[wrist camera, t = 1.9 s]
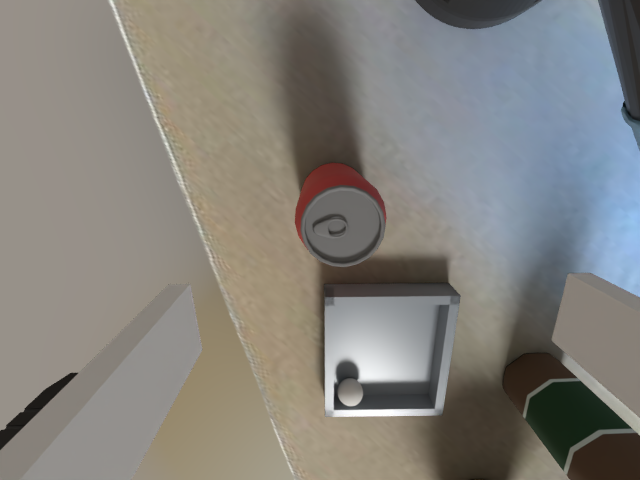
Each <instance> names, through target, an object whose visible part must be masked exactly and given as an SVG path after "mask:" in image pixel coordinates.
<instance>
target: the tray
mask: <svg viewBox="0 0 640 480" xmlns="http://www.w3.org/2000/svg"><path fill="white" fill-rule="evenodd" d="M459 303H460V295H459V294H458V293H457V292H456V290H455V289H454V288H453V287H452V286H451V285H450V284H449V283H393V284H324V384H325V417H347V416H425V415H442V413H443V407H444V400H445V394H446V387H447V381H448V374H449V368H450V361H451V355H452V348H453V342H454V335H455V329H456V322H457V316H458V309H459ZM347 378H353V379H355V380H357V381H358V382H359V383H360V384H361V386H362V389H363V397H362V399H361V401H360V402H359V403H358V404H357V405H355V406H347V405H345V404H343V403H342V402H341V401H340V399H339V397H338V386H339V384H340V383H341V382H342V381H343V380H344V379H347Z"/></svg>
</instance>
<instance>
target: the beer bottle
mask: <svg viewBox="0 0 640 480" xmlns="http://www.w3.org/2000/svg"><path fill="white" fill-rule="evenodd" d="M503 389H504V390H505V392H506V393H507V395H508V396H509V398H510V399H511V401H512V402H513V403H514V405H515V406H516V407H517V409H518V410H519V411H520V413H521V414H522V416H523V417H524V418H525V420H526V421H527V422H528V424H529V425H530V426H531V428H532V429H533V430H534V432H535V433H536V434H537V436H538V437H539V439H540V440H541V441H542V443H543V444H544V445H545V447H546V448H547V449H548V451H549V452H550V453H551V455H552V456H553V458H554V459H555V460H556V462H557V463H558V464H559V466H560V467H561V468H562V470H563V471H564V472H565V474H566V475H567V476H568V478H569V479H570V480H640V436H639V435H638V434H637V433H636V432H635V431H634V430H633V429H632V428H631V427H630V426H629V425H628V424H627V423H626V422H625V421H623V420H622V419H621V418H620V417H619V416H618V415H617V414H616V413H615V412H614V411H613V410H612V409H610V408H609V407H608V406H607V405H606V404H605V403H604V402H603V401H602V400H601V399H600V398H599V397H597V396H596V395H595V394H594V393H593V392H592V391H591V390H590V389H589V388H588V387H587V386H586V385H584V384H583V383H582V382H581V381H580V380H579V379H578V378H577V377H576V376H575V375H574V374H573V373H571V372H570V371H569V370H568V369H567V368H566V367H565V366H564V365H563V364H562V363H561V362H559V361H558V360H557V359H556V358H555V357H553V356H552V355H551V354H549V353H531V354H523V355H522V356H521V357H519V358H518V359H517V360H515V361H514V362H513V363H511V364H510V365H509V366H507V367H506V370H505V376H504V381H503Z"/></svg>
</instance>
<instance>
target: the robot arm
mask: <svg viewBox="0 0 640 480" xmlns="http://www.w3.org/2000/svg"><path fill="white" fill-rule="evenodd" d="M540 1H541V0H416V2H417V3H418V4H419V5H420V6H421V7H422V8H423V9H424V10H425V11H426V12H428V13H429V14H430V15H431V16H433V17H434V18H436V19H438V20H440V21H441V22H444V23H446V24H448V25H451V26H455V27H459V28H466V29H480V28H487V27H492V26H495V25H499V24H501V23H504V22H506V21H509V20H511V19H513V18H514V17H516V16H518V15H520V14H521V13H523V12H525V11H526V10H528V9H529V8H531V7H533V6H534V5H536V4H537V3H539V2H540ZM598 2H599V6H600V9H601V13H602V17H603V20H604V24H605V28H606V31H607V35H608V39H609V42H610V46H611V50H612V53H613V57H614V61H615V64H616V68H617V72H618V75H619V79H620V83H621V87H622V91H623V95H624V99H625V101H624V102H623V107H622V109H621V112H622V116H623V118H624V120H625V122H626V123H627V124H628V125H629V126H631V128H632V130H633V133H634V136H635V139H636V142H637V145H638V148H639V150H640V0H598ZM551 341H553V342H554V343H555V344H556V345H557V346H558V347H559V348H561V349H562V350H563V351H564V352H565V353H566V354H567V355H569V356H570V357H571V358H572V359H573V360H574V361H575V362H577V363H578V364H579V365H580V366H581V367H582V368H583V369H585V370H586V371H587V372H588V373H589V374H590V375H591V376H593V377H594V378H595V379H596V380H597V381H598V382H599V383H601V384H602V385H603V386H604V387H605V388H606V389H607V390H608V391H610V392H611V393H612V394H613V395H614V396H615V397H616V398H618V399H619V400H620V401H621V402H622V403H623V404H624V405H626V406H627V407H628V408H629V409H630V410H631V411H632V412H634V413H635V414H636V415H637V416H638V417H639V418H640V297H638V296H636V295H634V294H632V293H630V292H628V291H626V290H624V289H622V288H620V287H618V286H616V285H614V284H612V283H610V282H608V281H606V280H604V279H602V278H600V277H598V276H596V275H594V274H592V273H568V276H567V280H566V284H565V288H564V292H563V296H562V300H561V304H560V308H559V312H558V316H557V320H556V324H555V328H554V332H553V336H552V340H551ZM201 351H202V346H201V340H200V335H199V329H198V324H197V318H196V312H195V307H194V302H193V296H192V290H191V285H190V284H170V285H168V286H166V287H165V289H163V290H162V291H161V292H160V293H159V294H158V295H157V296H156V297H155V298H154V299H153V300H152V301H151V302H150V303H149V304H148V305H147V306H146V307H145V308H144V309H143V310H142V311H141V312H140V313H139V314H138V315H137V316H136V317H135V318H134V319H133V320H132V321H131V322H130V323H129V324H128V325H127V326H126V327H125V328H124V329H123V330H122V331H121V332H120V333H119V334H118V335H117V336H116V337H115V338H114V339H113V340H112V341H111V342H110V343H109V344H108V345H107V346H106V347H105V348H104V349H102V351H101V352H100V353H98V354H97V356H95V357H94V359H92V360H91V361H90V362H89V363H88V364H87V365H86V366H85V367H84V368H83V369H82V370H81V371H80V372H79V373H70V374H68V375H67V376H65V377H64V378H62V379H61V380H59V381H58V382H56V383H54V384H53V385H51V386H50V387H48V388H46V389H45V390H44V391H43V392H42V393H41V394H40V395H39V396H38V397H37V398H35V400H33V401H32V402H31V403H30V404H29V405H28V406H27V407H26V408H25V410H24V412H21V413H19V414H18V415H17V416H16V417H15V418H14V419H13V420H12V421H11V422H10V423H8V424H7V425H6V426H7V427H6V429H5V430H1V431H0V480H131V479H132V478H133V476H134V474H135V472H136V470H137V469H138V466H139V465H140V463H141V461H142V459H143V458H144V456H145V454H146V452H147V450H148V448H149V446H150V445H151V443H152V441H153V439H154V437H155V435H156V434H157V432H158V430H159V428H160V426H161V424H162V423H163V421H164V419H165V417H166V415H167V413H168V412H169V410H170V408H171V406H172V404H173V403H174V401H175V399H176V397H177V395H178V393H179V391H180V389H181V388H182V386H183V384H184V382H185V381H186V379H187V377H188V375H189V373H190V371H191V370H192V368H193V366H194V364H195V362H196V360H197V358H198V357H199V355H200V353H201Z"/></svg>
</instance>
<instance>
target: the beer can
mask: <svg viewBox="0 0 640 480" xmlns="http://www.w3.org/2000/svg"><path fill="white" fill-rule="evenodd" d="M295 225H296V228H297V232H298V236H299V238H300V239H301V241H302V242H303V244H304V245H305V247H306V248H307V250H309V252H310V253H311V254H312V255H313V256H314V257H315V258H317V259H318V260H319V261H320V262H323V263H326V264H328V265H331V266H338V267H347V266H352V265H356V264H359V263H361V262H362V261H364V260H366V259H368V258H369V257H370V256H371V255H372V254H373V253H374V252H375V251H376V250H377V249H378V247H379V245H380V243H381V241H382V239H383V238H384V231H385V225H386V212H385V206H384V202H383V200H382V198H381V196H380V194H379V192H378V191H377V189H376V188H375V187H373V186H372V185H371V184H370V183H369V182H368V181H367V180H366V179H365V178H363V177H362V176H361V175H360V174H359V173H358V172H356V171H355V170H354V169H353V168H351V167H349V166H347V165H345V164H341V163H329V164H325V165H321V166H320V167H318V168H316V169H315V170H313V171H312V172H311V173H310V175H309V176H308V177H307V178H306V180H305V182H304V185H303V187H302V190H301V193H300V197H299V200H298V203H297V207H296V214H295Z"/></svg>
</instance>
